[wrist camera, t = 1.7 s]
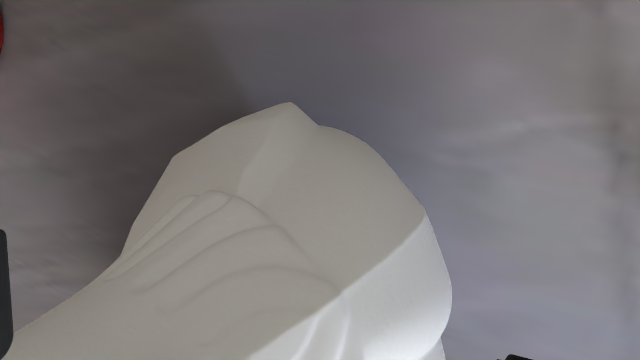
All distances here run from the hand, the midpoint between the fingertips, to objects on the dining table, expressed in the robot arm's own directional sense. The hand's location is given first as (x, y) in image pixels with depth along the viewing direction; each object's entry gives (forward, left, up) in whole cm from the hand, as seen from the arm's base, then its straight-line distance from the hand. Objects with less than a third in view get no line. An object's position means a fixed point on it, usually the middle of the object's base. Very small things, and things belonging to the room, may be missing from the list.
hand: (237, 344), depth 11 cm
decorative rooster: (+13, -5, -22) cm, 26 cm away
